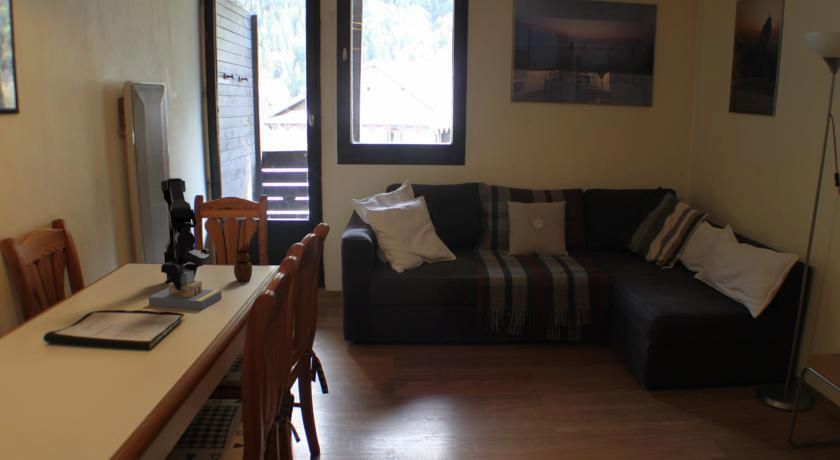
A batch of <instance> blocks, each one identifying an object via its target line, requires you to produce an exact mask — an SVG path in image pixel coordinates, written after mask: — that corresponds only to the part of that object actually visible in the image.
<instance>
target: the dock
mask: <svg viewBox="0 0 840 460" xmlns="http://www.w3.org/2000/svg"><path fill="white" fill-rule="evenodd" d="M221 300H222V290H220V289H214V290H213V289H203V288H202V293H198V295H195V296H194V297H185V296H173V295H169V287H166V288H164V289H163V290H160V291H159V292H155V293H154V294H152V295H150V296H148V305H149V306H151V307H152V306H153V307H162V308H163V307H164V308H175V309H187V310H198V311H199V310H200V311H204V310H205V309H207V308H208V307H211V306H212V305H214V304H216V303H218V302H220V301H221Z"/></svg>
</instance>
